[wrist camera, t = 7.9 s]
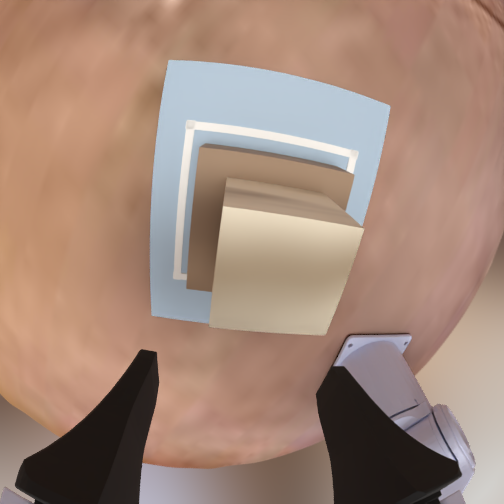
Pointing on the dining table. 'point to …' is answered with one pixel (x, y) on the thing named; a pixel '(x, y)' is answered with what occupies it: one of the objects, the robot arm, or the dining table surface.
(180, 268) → the blueprint board
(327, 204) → the maple cube
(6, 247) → the dining table surface
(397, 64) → the dining table surface
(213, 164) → the walnut base block
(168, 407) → the dining table surface
